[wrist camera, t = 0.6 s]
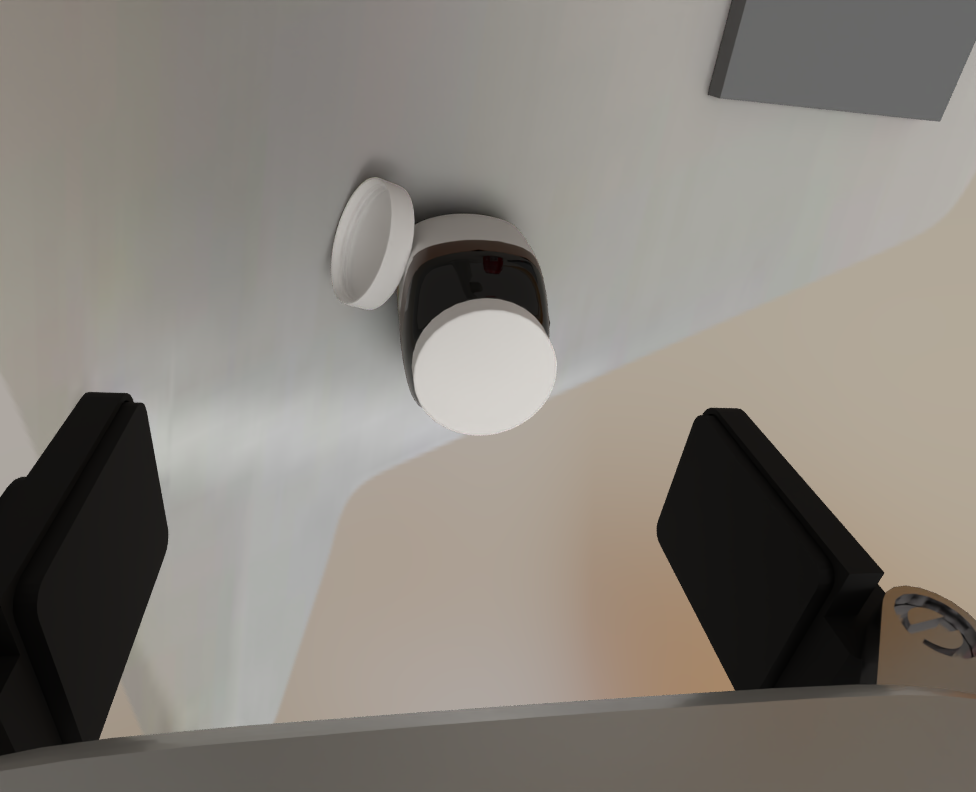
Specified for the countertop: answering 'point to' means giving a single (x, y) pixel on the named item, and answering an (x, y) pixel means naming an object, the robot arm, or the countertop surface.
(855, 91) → the mat
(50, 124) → the countertop surface
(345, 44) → the countertop surface
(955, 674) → the robot arm
